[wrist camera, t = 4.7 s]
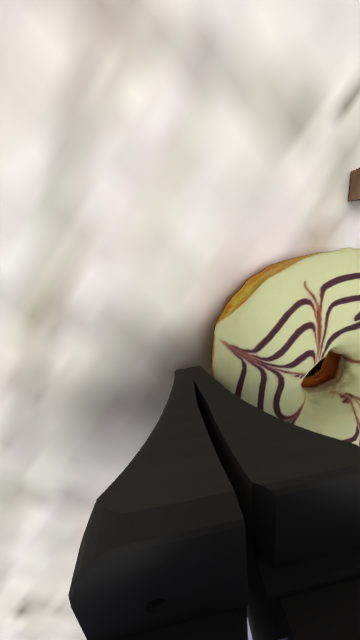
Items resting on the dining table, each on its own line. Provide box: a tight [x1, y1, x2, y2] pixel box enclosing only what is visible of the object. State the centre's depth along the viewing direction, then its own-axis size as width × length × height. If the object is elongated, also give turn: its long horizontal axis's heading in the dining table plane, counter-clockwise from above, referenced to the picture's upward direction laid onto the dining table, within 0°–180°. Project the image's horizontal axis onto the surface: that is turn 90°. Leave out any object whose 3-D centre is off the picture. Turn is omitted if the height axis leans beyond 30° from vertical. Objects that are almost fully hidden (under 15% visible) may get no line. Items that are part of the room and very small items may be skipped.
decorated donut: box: [211, 248, 360, 447], centre depth 10 cm, size 10×11×4 cm
